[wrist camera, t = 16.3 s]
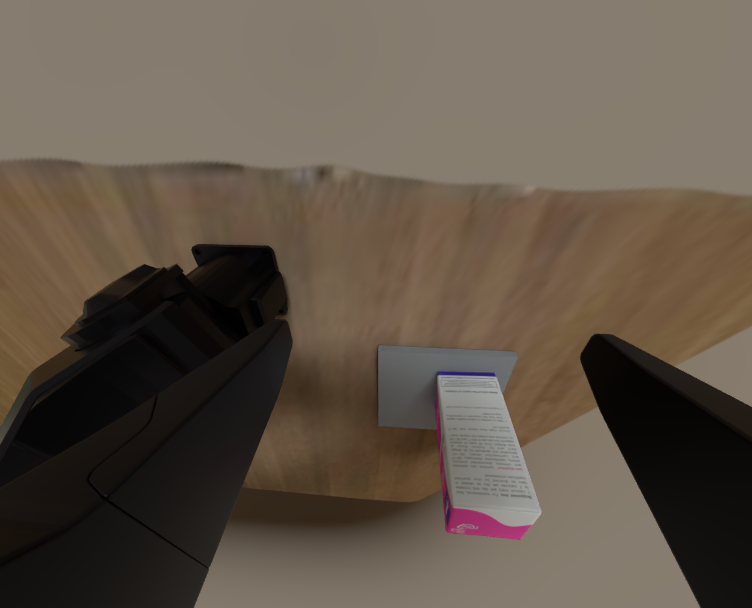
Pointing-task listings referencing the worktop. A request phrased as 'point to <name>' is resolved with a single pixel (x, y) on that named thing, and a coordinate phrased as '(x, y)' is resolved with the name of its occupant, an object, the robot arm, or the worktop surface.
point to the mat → (427, 379)
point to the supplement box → (481, 459)
